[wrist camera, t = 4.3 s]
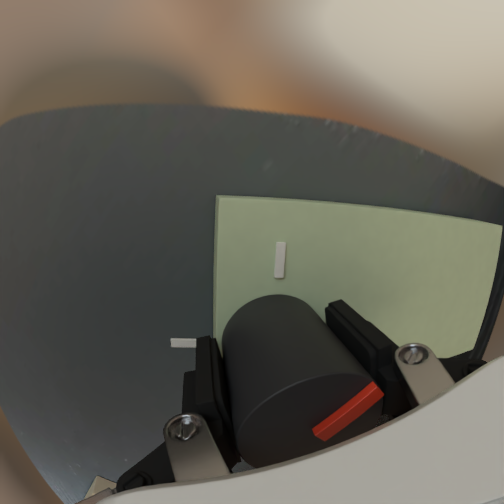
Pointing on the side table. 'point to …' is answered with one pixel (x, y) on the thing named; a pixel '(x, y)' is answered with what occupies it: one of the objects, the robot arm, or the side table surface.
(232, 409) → the timer dial
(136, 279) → the side table surface
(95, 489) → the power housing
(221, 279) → the dial panel
